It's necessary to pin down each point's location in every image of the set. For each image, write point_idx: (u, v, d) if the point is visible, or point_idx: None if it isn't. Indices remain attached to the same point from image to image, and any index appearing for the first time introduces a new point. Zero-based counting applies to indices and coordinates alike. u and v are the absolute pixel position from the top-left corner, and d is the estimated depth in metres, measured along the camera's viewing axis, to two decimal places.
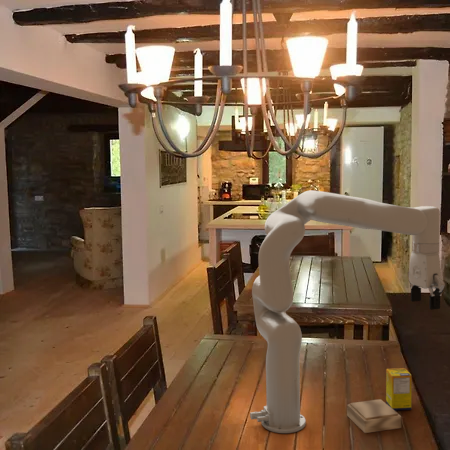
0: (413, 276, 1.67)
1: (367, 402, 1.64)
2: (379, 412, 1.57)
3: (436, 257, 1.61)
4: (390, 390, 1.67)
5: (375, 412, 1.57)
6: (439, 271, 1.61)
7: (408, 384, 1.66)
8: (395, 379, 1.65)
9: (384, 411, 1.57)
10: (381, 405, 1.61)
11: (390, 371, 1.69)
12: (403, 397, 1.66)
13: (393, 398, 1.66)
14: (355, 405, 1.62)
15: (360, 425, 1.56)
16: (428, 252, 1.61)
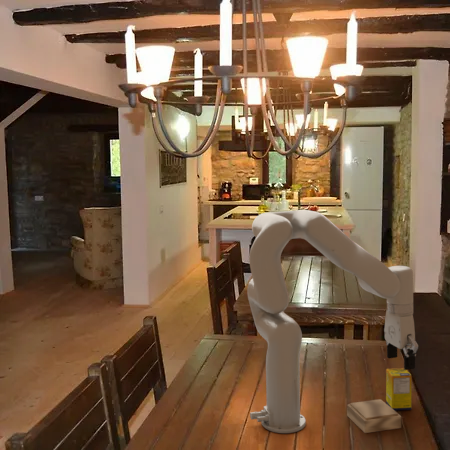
0: (388, 335, 1.68)
1: (367, 402, 1.64)
2: (379, 412, 1.57)
3: (410, 318, 1.62)
4: (390, 390, 1.67)
5: (375, 412, 1.57)
6: (413, 331, 1.62)
7: (408, 384, 1.66)
8: (395, 379, 1.65)
9: (384, 411, 1.57)
10: (381, 405, 1.61)
11: (390, 371, 1.69)
12: (403, 397, 1.66)
13: (393, 398, 1.66)
14: (355, 405, 1.62)
15: (360, 425, 1.56)
16: (402, 313, 1.62)
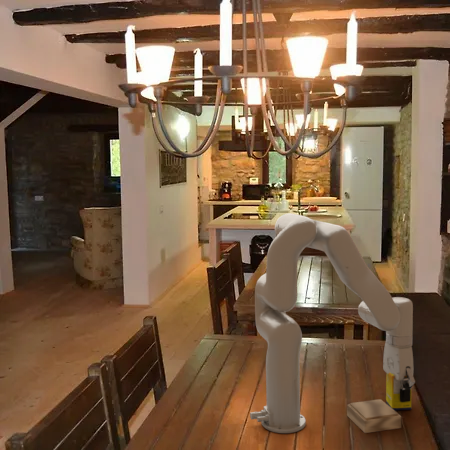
0: (387, 365, 1.69)
1: (367, 402, 1.64)
2: (379, 412, 1.57)
3: (409, 350, 1.63)
4: (390, 390, 1.67)
5: (375, 412, 1.57)
6: (412, 363, 1.63)
7: None
8: (395, 379, 1.65)
9: (384, 411, 1.57)
10: (381, 405, 1.61)
11: None
12: None
13: (393, 398, 1.66)
14: (355, 405, 1.62)
15: (360, 425, 1.56)
16: (401, 345, 1.63)
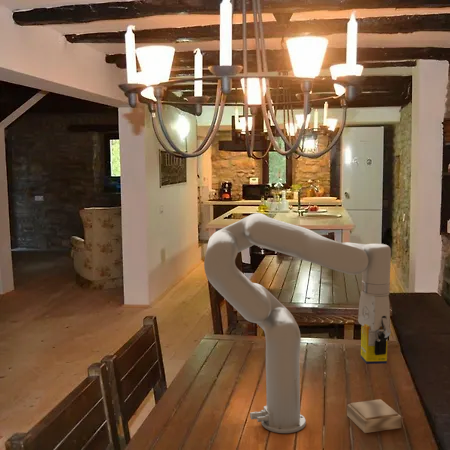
0: (362, 317, 1.58)
1: (367, 402, 1.64)
2: (379, 412, 1.57)
3: (385, 298, 1.52)
4: (365, 342, 1.56)
5: (375, 412, 1.57)
6: (388, 313, 1.53)
7: None
8: (370, 330, 1.54)
9: (384, 411, 1.57)
10: (381, 405, 1.61)
11: None
12: None
13: (368, 350, 1.55)
14: (355, 405, 1.62)
15: (360, 425, 1.56)
16: (377, 293, 1.53)
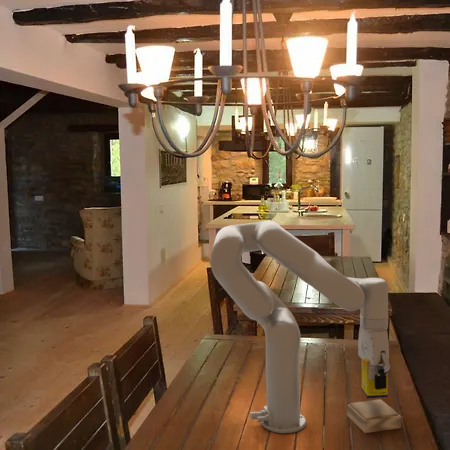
0: (361, 351, 1.59)
1: (367, 402, 1.64)
2: (379, 412, 1.57)
3: (384, 333, 1.53)
4: (365, 376, 1.56)
5: (375, 412, 1.57)
6: (387, 348, 1.53)
7: None
8: (370, 365, 1.55)
9: (384, 411, 1.57)
10: (381, 405, 1.61)
11: None
12: None
13: (368, 385, 1.56)
14: (355, 405, 1.62)
15: (360, 425, 1.56)
16: (375, 328, 1.53)
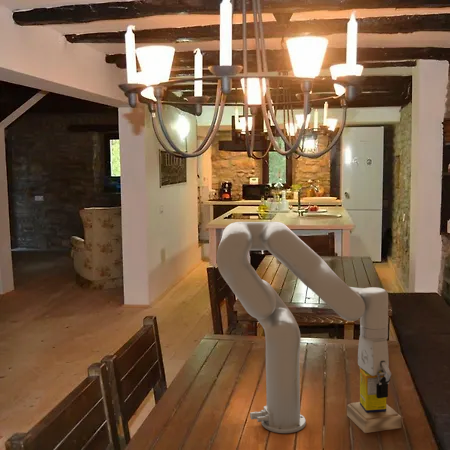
0: (361, 360, 1.59)
1: None
2: (379, 412, 1.57)
3: (383, 343, 1.53)
4: (364, 391, 1.57)
5: (375, 412, 1.57)
6: (387, 358, 1.53)
7: None
8: (369, 379, 1.56)
9: (384, 411, 1.57)
10: None
11: (364, 370, 1.59)
12: (377, 398, 1.56)
13: (367, 399, 1.56)
14: (355, 405, 1.62)
15: (360, 425, 1.56)
16: (375, 338, 1.53)
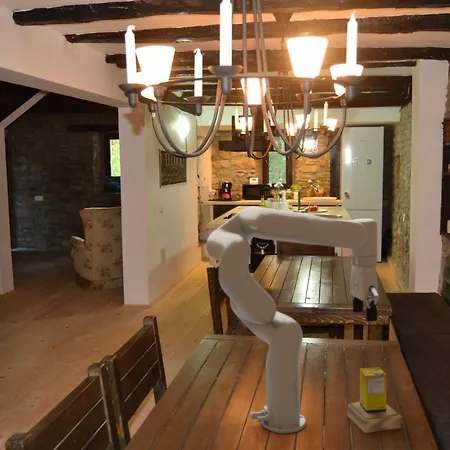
0: (353, 288, 1.69)
1: None
2: (379, 412, 1.57)
3: (372, 269, 1.62)
4: (364, 391, 1.57)
5: (375, 412, 1.57)
6: (376, 283, 1.62)
7: (382, 384, 1.56)
8: (369, 379, 1.56)
9: (384, 411, 1.57)
10: None
11: (364, 370, 1.59)
12: (377, 398, 1.56)
13: (367, 399, 1.56)
14: (355, 405, 1.62)
15: (360, 425, 1.56)
16: (364, 264, 1.63)
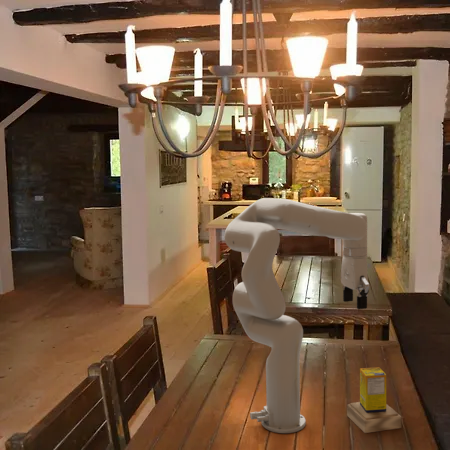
0: (344, 278, 1.79)
1: None
2: (379, 412, 1.57)
3: (363, 260, 1.73)
4: (364, 391, 1.57)
5: (375, 412, 1.57)
6: (366, 273, 1.74)
7: (382, 384, 1.56)
8: (369, 379, 1.56)
9: (384, 411, 1.57)
10: None
11: (364, 370, 1.59)
12: (377, 398, 1.56)
13: (367, 399, 1.56)
14: (355, 405, 1.62)
15: (360, 425, 1.56)
16: (356, 256, 1.74)
